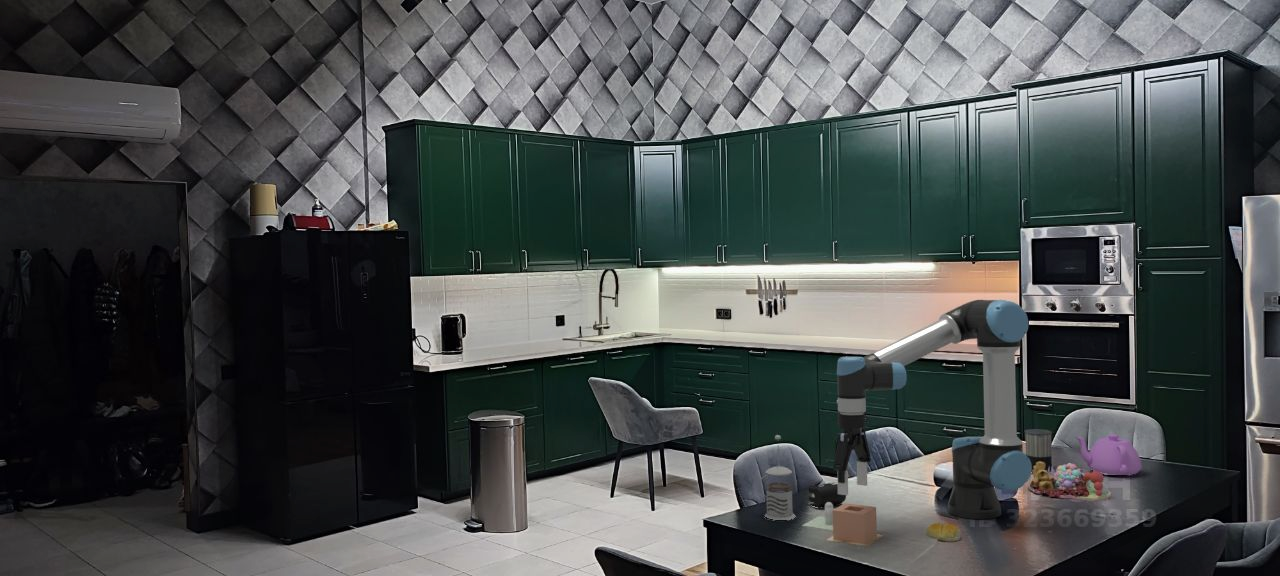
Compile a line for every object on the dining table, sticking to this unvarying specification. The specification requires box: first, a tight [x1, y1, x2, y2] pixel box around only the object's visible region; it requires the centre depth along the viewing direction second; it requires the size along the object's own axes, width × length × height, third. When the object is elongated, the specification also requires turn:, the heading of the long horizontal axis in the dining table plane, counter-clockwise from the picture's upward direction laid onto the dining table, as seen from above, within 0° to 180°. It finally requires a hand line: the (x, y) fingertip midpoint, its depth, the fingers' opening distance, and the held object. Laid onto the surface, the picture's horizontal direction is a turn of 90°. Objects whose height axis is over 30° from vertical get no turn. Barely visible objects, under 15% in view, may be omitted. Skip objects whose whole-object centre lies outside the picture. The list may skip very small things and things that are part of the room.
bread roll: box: [926, 522, 962, 543], centre depth 253 cm, size 8×9×4 cm
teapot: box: [1073, 433, 1142, 475], centre depth 325 cm, size 22×22×14 cm
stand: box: [825, 533, 885, 547], centre depth 253 cm, size 12×12×6 cm
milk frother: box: [1024, 428, 1053, 472], centre depth 333 cm, size 14×16×15 cm
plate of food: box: [1027, 461, 1112, 501], centre depth 301 cm, size 25×24×9 cm
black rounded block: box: [808, 482, 847, 509], centre depth 291 cm, size 10×7×7 cm
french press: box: [757, 434, 797, 521], centre depth 280 cm, size 10×12×25 cm
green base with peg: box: [801, 502, 834, 531], centre depth 268 cm, size 12×12×7 cm
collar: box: [832, 502, 878, 544], centre depth 253 cm, size 9×9×8 cm
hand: (852, 489), depth 253 cm, fingers open, 13 cm apart
